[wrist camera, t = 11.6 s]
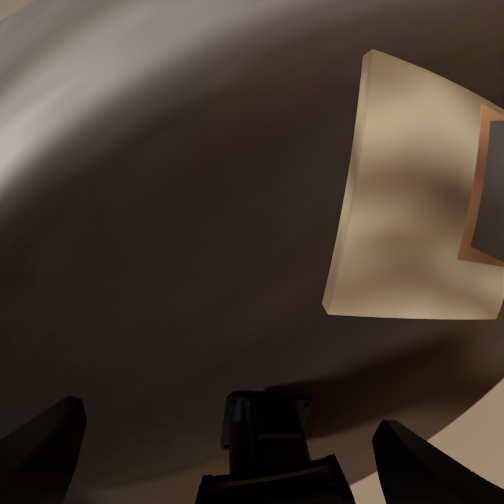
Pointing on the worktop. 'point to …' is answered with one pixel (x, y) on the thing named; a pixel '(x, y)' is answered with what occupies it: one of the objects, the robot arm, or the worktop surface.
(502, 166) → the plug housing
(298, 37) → the worktop surface
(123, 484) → the worktop surface
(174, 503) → the worktop surface
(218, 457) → the worktop surface
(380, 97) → the birch board
